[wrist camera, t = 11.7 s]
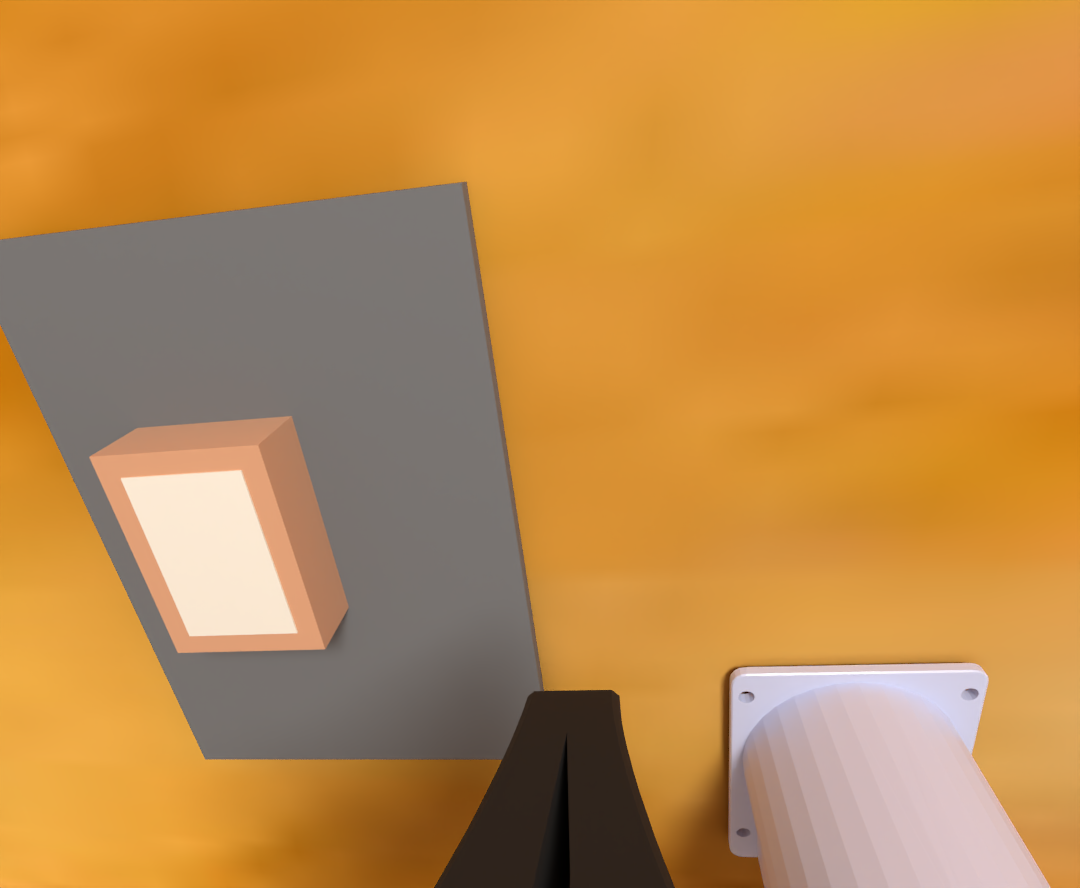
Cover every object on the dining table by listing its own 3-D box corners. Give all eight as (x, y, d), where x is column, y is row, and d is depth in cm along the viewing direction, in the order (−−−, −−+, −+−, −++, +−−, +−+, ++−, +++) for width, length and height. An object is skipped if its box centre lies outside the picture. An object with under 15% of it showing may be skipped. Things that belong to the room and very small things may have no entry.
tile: (324, 650, 20) (177, 654, 20) (348, 607, 22) (212, 611, 22) (257, 445, 17) (87, 457, 18) (291, 415, 19) (137, 428, 19)
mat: (552, 745, 24) (551, 759, 24) (213, 746, 26) (205, 759, 26) (466, 181, 16) (461, 182, 16) (-18, 242, 18) (-38, 245, 17)
